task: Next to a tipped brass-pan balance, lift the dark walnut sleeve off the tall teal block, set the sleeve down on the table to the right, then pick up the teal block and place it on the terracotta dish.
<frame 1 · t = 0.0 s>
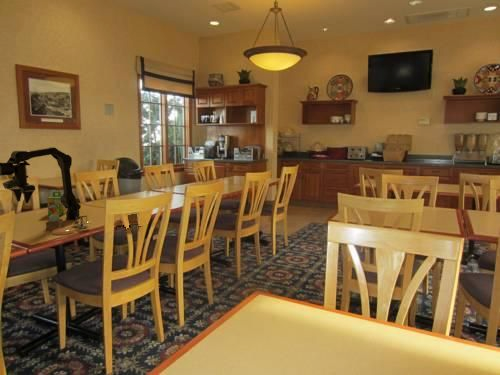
hand: (22, 202, 205), 15 cm above the table, fingers open, 9 cm apart
block: (54, 221, 209), in the sleeve
balance: (82, 227, 210), on the table
stone cup: (128, 225, 216), on the table
sleeve: (54, 227, 209), on the table
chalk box: (57, 214, 243), on the table
dish: (63, 232, 200), on the table
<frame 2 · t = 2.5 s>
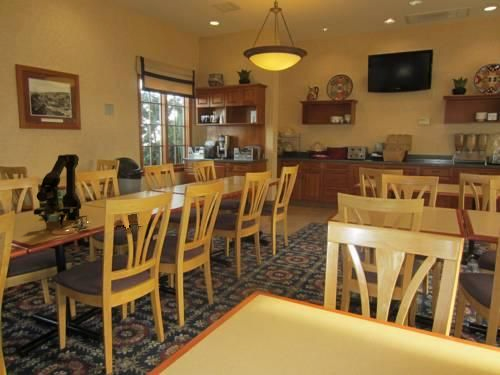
hand: (54, 225, 209), 1 cm above the table, fingers closed on sleeve, 7 cm apart
sleeve: (54, 227, 209), on the table, touching gripper
everything else where it was.
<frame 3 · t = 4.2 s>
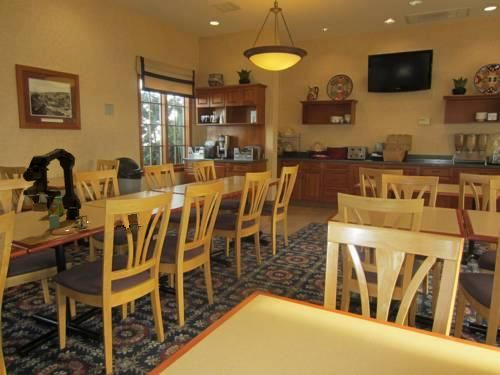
hand: (43, 208, 200), 12 cm above the table, fingers closed on sleeve, 7 cm apart
sleeve: (43, 210, 200), point 11 cm above the table, touching gripper
everything else where it was.
when the fingers open (3 cm above the table, at t = 6.2 s): sleeve drops 2 cm, on the table.
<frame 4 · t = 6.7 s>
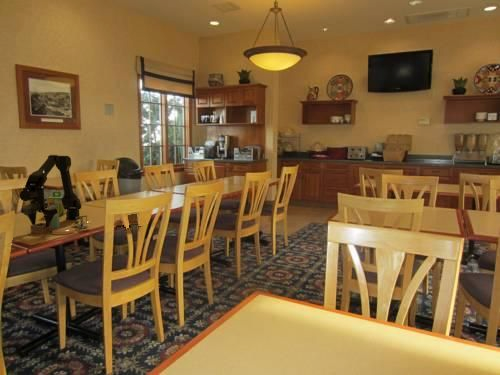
hand: (40, 226, 200), 3 cm above the table, fingers open, 9 cm apart
sleeve: (41, 231, 200), on the table
everything else where it was.
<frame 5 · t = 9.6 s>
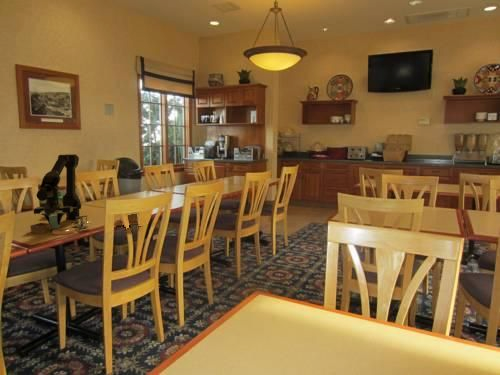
hand: (54, 224, 209), 2 cm above the table, fingers closed on block, 4 cm apart
block: (54, 221, 209), on the table, touching gripper
everything else where it was.
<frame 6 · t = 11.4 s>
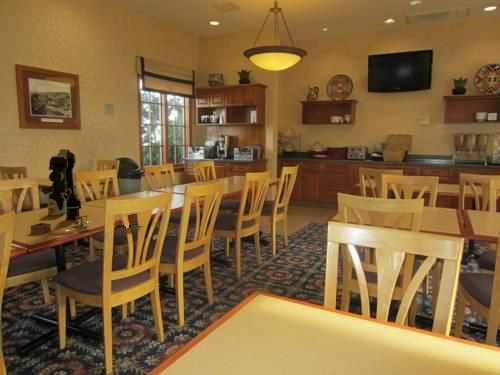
hand: (61, 209, 198), 12 cm above the table, fingers closed on block, 4 cm apart
block: (61, 205, 198), point 14 cm above the table, touching gripper
everything else where it was.
when the fingers open (4 cm above the table, at t = 13.3 s): block drops 1 cm, resting on dish.
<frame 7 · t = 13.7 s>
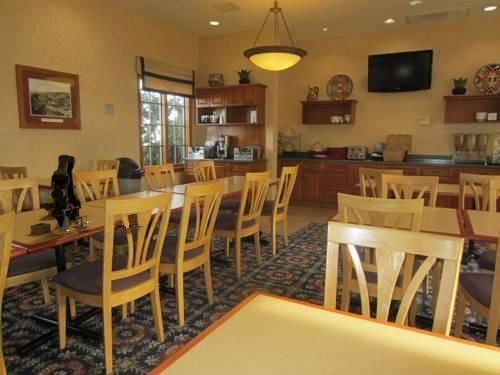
hand: (63, 225, 200), 4 cm above the table, fingers open, 9 cm apart
block: (63, 223, 200), on the dish, point 4 cm above the table
everything else where it was.
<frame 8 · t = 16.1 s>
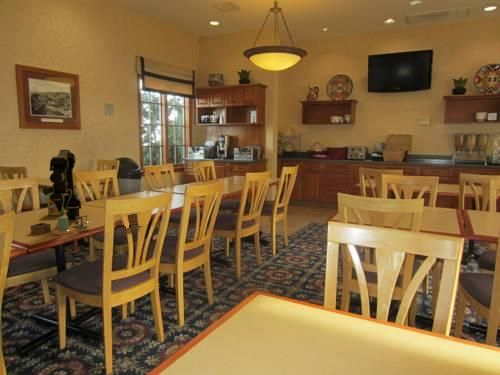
hand: (62, 210, 198), 12 cm above the table, fingers open, 9 cm apart
nothing on the table moved.
at the end: block inside the target area on the dish (0.1 cm from its centre), point 4.5 cm above the dish's base; block tilted 0°; sleeve moved 9.5 cm from its start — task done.
